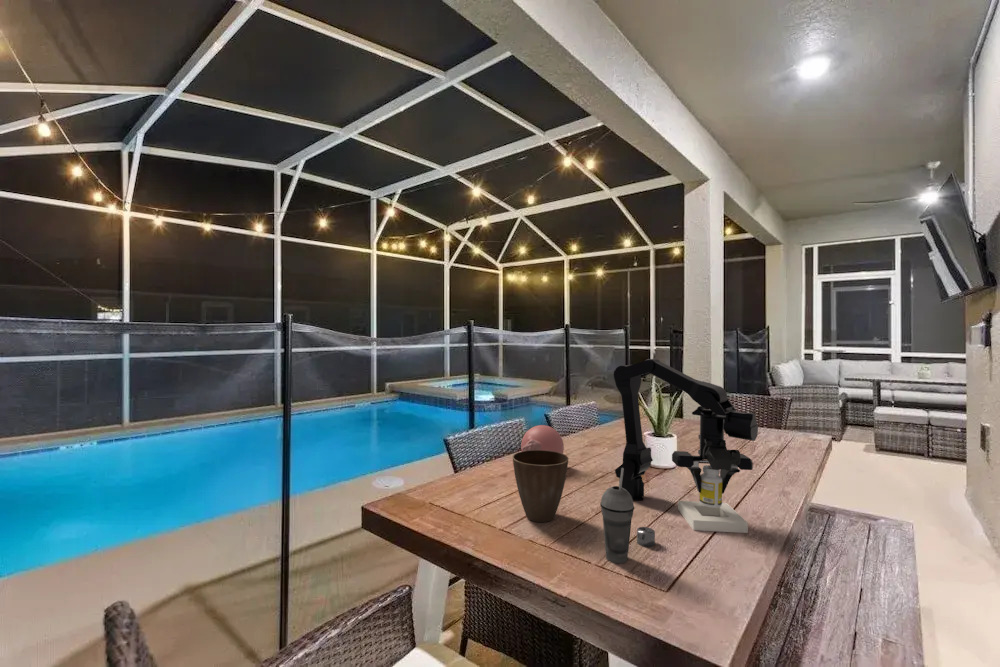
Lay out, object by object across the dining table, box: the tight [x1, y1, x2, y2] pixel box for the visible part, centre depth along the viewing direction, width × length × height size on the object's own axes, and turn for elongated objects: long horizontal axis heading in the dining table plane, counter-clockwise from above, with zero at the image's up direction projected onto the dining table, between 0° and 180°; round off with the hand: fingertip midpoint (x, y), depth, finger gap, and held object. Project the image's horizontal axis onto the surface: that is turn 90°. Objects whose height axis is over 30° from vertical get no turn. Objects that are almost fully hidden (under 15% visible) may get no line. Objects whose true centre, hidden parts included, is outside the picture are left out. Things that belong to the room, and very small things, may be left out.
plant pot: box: [512, 450, 569, 523], centre depth 120 cm, size 15×15×16 cm
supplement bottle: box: [698, 464, 723, 508], centre depth 118 cm, size 5×5×10 cm
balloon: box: [520, 424, 565, 454], centre depth 161 cm, size 15×20×15 cm
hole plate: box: [677, 500, 749, 534], centre depth 118 cm, size 13×13×2 cm
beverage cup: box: [600, 468, 635, 564], centre depth 98 cm, size 7×7×20 cm
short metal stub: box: [636, 526, 656, 548], centre depth 105 cm, size 4×4×3 cm
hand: (710, 492), depth 118 cm, fingers closed on supplement bottle, 5 cm apart
